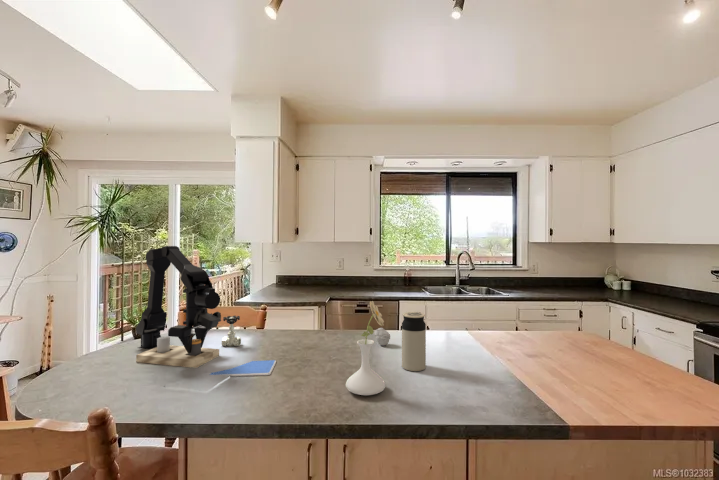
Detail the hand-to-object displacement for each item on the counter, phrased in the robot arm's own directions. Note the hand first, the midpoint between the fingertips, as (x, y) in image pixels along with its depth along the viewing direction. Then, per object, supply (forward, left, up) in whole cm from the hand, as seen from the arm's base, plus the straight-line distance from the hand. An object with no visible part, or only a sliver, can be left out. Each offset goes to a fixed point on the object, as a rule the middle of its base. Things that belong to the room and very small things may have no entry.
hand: (194, 350), depth 117 cm
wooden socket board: (-6, 0, -4) cm, 8 cm away
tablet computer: (+21, -2, -5) cm, 21 cm away
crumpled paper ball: (+62, +34, -4) cm, 70 cm away
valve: (+3, +18, -4) cm, 19 cm away
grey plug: (-13, 0, -3) cm, 13 cm away
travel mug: (+76, +12, -4) cm, 77 cm away
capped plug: (0, 0, -3) cm, 3 cm away
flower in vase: (+64, -8, -4) cm, 64 cm away
